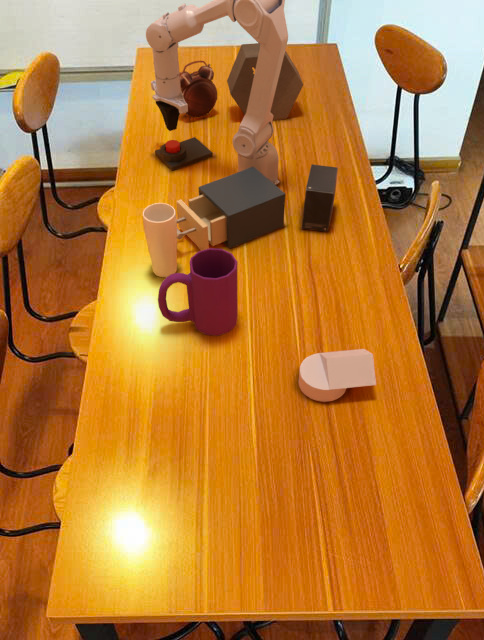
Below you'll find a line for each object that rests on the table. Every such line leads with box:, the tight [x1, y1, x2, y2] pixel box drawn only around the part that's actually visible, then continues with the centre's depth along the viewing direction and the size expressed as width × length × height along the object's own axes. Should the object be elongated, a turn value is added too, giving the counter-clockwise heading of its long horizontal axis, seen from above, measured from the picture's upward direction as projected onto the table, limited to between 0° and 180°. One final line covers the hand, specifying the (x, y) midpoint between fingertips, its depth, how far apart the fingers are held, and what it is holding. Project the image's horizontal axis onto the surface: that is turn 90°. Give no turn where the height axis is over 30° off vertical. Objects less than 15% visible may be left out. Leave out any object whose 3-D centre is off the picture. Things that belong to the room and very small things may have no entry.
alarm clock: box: [179, 60, 218, 121], centre depth 184 cm, size 11×5×15 cm, turn 115°
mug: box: [157, 247, 239, 337], centre depth 133 cm, size 9×16×15 cm, turn 99°
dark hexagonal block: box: [226, 42, 304, 121], centre depth 184 cm, size 17×8×21 cm
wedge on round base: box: [298, 348, 377, 403], centre depth 126 cm, size 9×7×13 cm
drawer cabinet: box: [198, 167, 286, 250], centre depth 156 cm, size 15×13×9 cm
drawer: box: [175, 194, 227, 251], centre depth 153 cm, size 18×12×7 cm, turn 122°
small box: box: [301, 163, 339, 232], centre depth 156 cm, size 11×6×10 cm, turn 168°
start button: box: [164, 139, 180, 153], centre depth 174 cm, size 4×4×2 cm
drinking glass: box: [142, 202, 178, 278], centre depth 143 cm, size 7×7×15 cm
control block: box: [154, 136, 213, 172], centre depth 177 cm, size 12×9×3 cm
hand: (171, 128), depth 170 cm, fingers closed
